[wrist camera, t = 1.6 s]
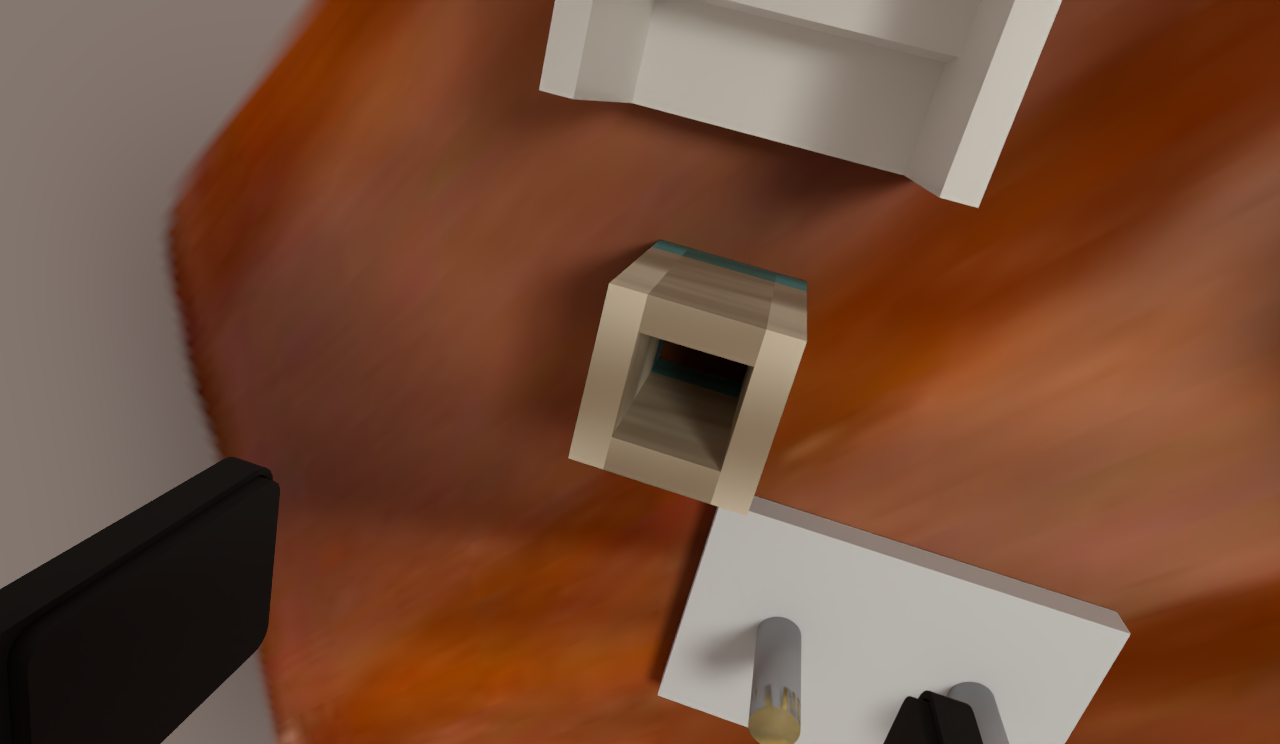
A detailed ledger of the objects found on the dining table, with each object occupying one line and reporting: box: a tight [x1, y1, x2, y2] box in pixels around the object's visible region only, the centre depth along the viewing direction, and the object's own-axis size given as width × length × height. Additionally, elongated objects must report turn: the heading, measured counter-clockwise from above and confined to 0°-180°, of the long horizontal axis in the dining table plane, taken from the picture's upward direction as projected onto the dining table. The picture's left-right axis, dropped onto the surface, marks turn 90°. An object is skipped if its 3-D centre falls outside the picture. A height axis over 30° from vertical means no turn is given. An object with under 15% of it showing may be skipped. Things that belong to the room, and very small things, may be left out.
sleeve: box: [568, 240, 807, 516], centre depth 23 cm, size 5×5×7 cm
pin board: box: [658, 496, 1130, 744], centre depth 26 cm, size 9×14×6 cm, turn 76°
